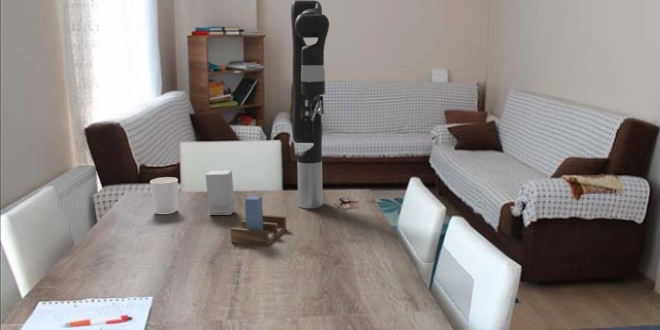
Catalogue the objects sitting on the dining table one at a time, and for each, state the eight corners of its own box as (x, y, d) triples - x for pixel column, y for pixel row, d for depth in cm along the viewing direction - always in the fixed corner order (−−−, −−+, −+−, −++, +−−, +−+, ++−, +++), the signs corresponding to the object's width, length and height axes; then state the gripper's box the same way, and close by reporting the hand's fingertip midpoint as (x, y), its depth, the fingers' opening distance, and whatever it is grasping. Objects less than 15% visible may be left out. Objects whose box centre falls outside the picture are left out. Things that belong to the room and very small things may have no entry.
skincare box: (235, 211, 217) (233, 170, 213) (230, 216, 210) (228, 174, 207) (213, 210, 217) (210, 169, 214) (207, 216, 211) (205, 173, 208)
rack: (252, 226, 199) (252, 213, 198) (286, 229, 196) (285, 216, 195) (231, 242, 184) (230, 228, 183) (267, 246, 180) (266, 232, 179)
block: (251, 231, 188) (250, 195, 186) (263, 232, 187) (261, 196, 185) (246, 235, 184) (244, 199, 182) (258, 236, 183) (256, 199, 181)
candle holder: (150, 210, 219) (148, 178, 217) (177, 206, 223) (175, 176, 221) (154, 217, 211) (152, 184, 208) (182, 213, 215) (180, 181, 212)
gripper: (308, 77, 194) (309, 126, 197) (294, 81, 180) (295, 133, 184) (330, 78, 192) (331, 127, 195) (317, 81, 178) (318, 134, 182)
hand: (313, 130), depth 190 cm, fingers open, 8 cm apart
